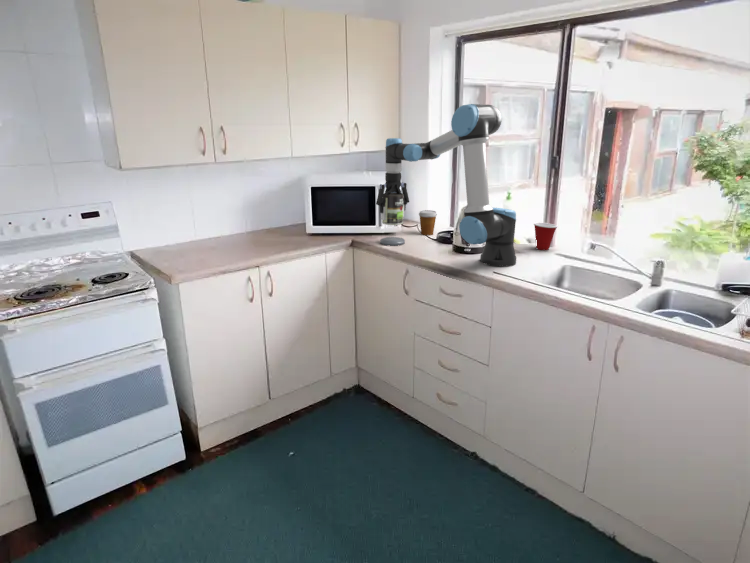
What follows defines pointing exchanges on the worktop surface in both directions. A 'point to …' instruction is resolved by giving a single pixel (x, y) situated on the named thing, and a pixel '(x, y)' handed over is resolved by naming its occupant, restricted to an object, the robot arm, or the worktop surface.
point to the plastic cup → (544, 235)
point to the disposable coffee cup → (427, 221)
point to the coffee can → (393, 209)
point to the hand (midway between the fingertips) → (392, 218)
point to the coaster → (392, 241)
